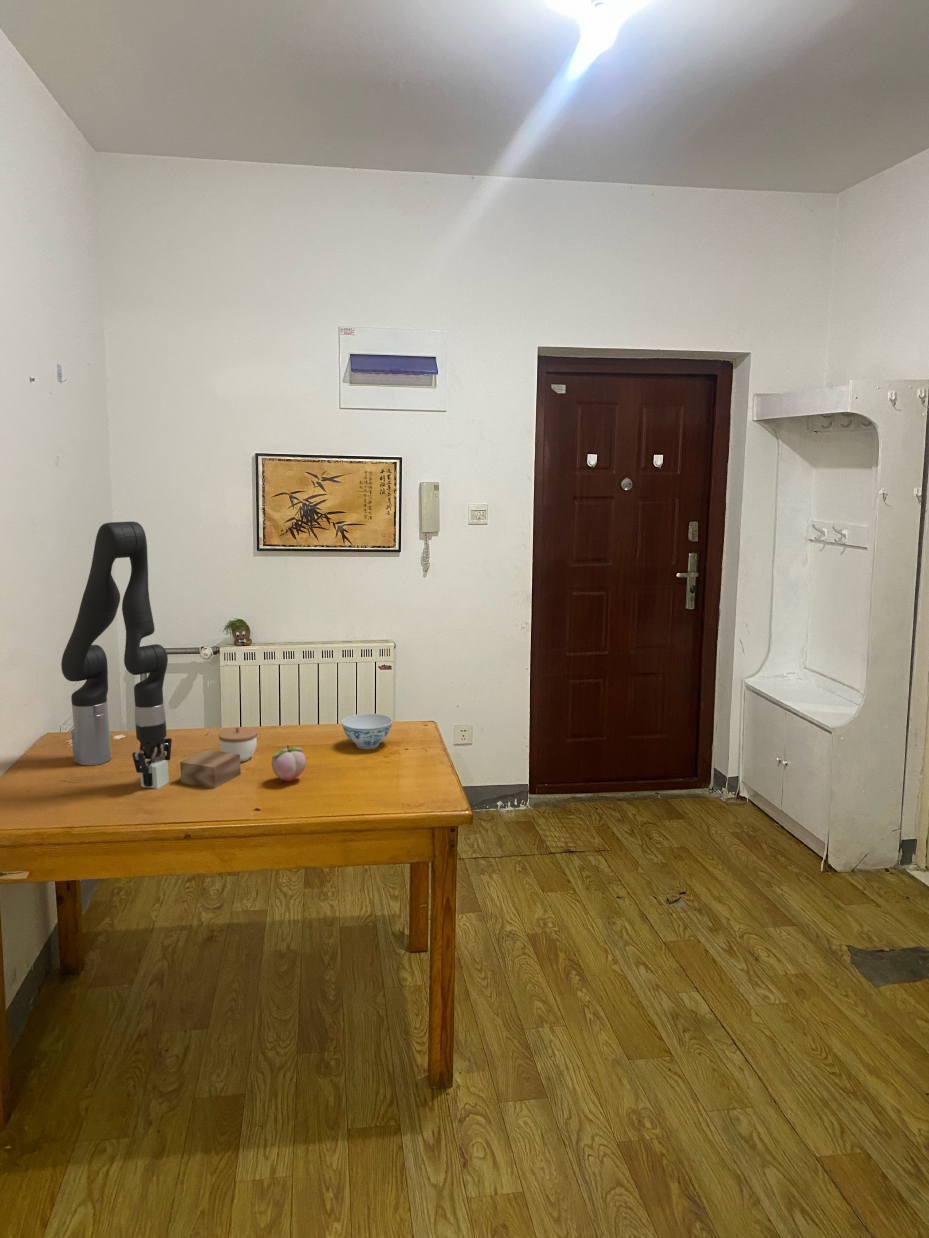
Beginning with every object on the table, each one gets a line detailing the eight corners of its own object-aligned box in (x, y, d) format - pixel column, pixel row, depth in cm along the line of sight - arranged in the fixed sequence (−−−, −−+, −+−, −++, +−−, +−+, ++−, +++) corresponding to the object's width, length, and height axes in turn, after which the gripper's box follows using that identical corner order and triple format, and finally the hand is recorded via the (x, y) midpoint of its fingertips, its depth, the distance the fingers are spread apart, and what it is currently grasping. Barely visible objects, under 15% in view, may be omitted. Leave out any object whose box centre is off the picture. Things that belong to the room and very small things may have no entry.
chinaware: (390, 754, 260) (389, 728, 258) (338, 753, 260) (338, 728, 258) (395, 737, 274) (394, 713, 273) (346, 737, 275) (345, 713, 273)
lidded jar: (248, 766, 250) (246, 734, 248) (213, 763, 252) (211, 731, 250) (264, 753, 260) (263, 722, 258) (230, 751, 262) (228, 720, 261)
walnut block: (181, 783, 238) (180, 762, 237) (207, 769, 248) (206, 749, 247) (215, 789, 234) (214, 767, 233) (240, 775, 244) (239, 754, 243)
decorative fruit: (294, 772, 245) (293, 737, 243) (312, 780, 239) (310, 744, 237) (265, 781, 238) (263, 745, 236) (282, 789, 232) (280, 753, 231)
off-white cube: (141, 786, 235) (139, 764, 234) (152, 779, 240) (151, 758, 239) (157, 788, 234) (156, 766, 232) (168, 781, 238) (167, 760, 237)
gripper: (155, 711, 241) (159, 771, 244) (120, 727, 228) (125, 790, 231) (179, 714, 239) (183, 774, 242) (145, 729, 226) (150, 793, 229)
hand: (154, 781), depth 236 cm, fingers closed on off-white cube, 5 cm apart
